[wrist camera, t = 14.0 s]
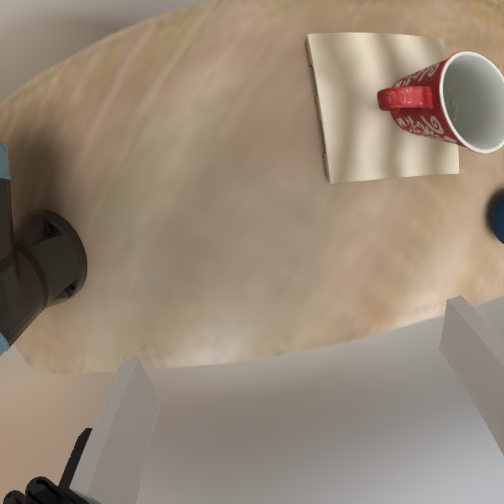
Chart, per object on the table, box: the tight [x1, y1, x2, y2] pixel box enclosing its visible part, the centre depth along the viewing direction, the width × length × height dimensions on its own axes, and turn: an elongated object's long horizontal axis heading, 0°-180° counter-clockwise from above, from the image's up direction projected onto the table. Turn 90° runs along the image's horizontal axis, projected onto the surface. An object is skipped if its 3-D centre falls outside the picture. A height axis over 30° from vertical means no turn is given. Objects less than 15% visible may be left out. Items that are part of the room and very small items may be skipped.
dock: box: [305, 33, 459, 184], centre depth 32 cm, size 18×18×3 cm
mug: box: [377, 51, 504, 154], centre depth 25 cm, size 13×9×14 cm
